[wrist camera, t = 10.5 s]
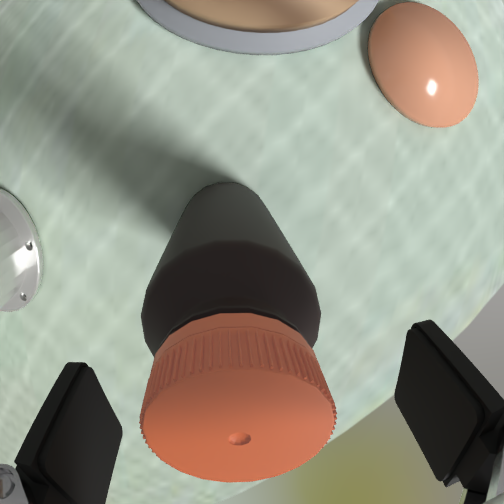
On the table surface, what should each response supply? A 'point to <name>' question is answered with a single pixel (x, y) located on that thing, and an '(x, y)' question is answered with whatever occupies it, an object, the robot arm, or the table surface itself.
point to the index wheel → (263, 13)
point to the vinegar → (233, 346)
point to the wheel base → (253, 41)
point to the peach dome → (423, 65)
